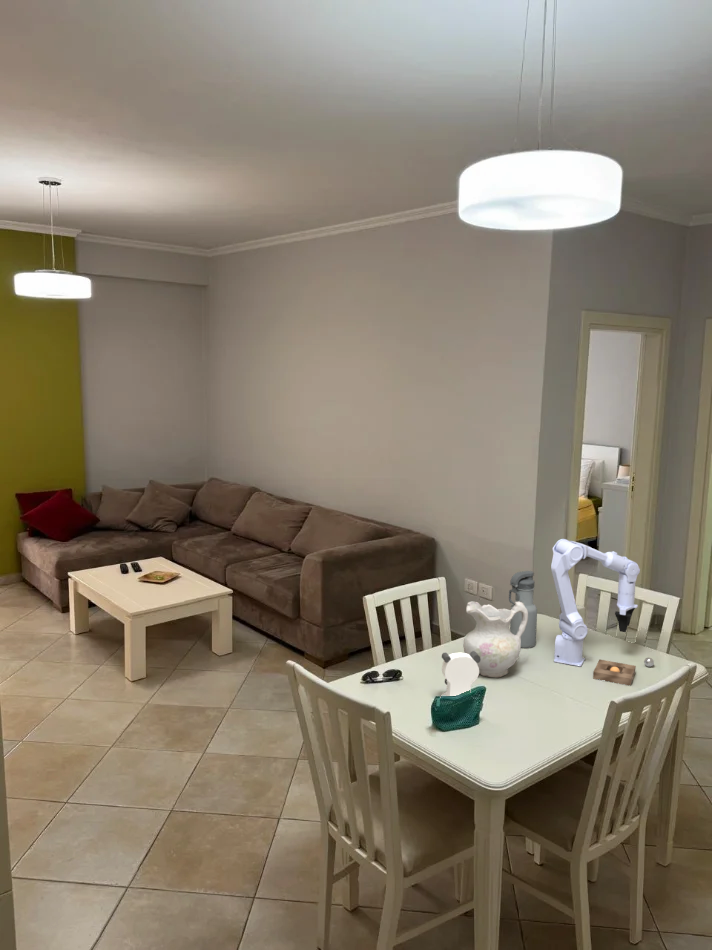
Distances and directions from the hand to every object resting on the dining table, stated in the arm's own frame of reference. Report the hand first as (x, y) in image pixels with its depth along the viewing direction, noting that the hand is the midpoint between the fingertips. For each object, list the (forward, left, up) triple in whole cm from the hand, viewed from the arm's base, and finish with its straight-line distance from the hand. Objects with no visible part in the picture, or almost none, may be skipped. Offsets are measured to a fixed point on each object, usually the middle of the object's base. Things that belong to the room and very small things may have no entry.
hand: (624, 628), depth 264 cm
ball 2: (+10, -6, -9) cm, 14 cm away
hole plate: (0, -20, -10) cm, 23 cm away
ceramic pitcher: (-37, -35, -11) cm, 52 cm away
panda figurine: (-40, -62, -11) cm, 75 cm away
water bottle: (-35, -6, -11) cm, 38 cm away
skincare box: (-19, +12, -11) cm, 25 cm away
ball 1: (0, -20, -9) cm, 22 cm away
